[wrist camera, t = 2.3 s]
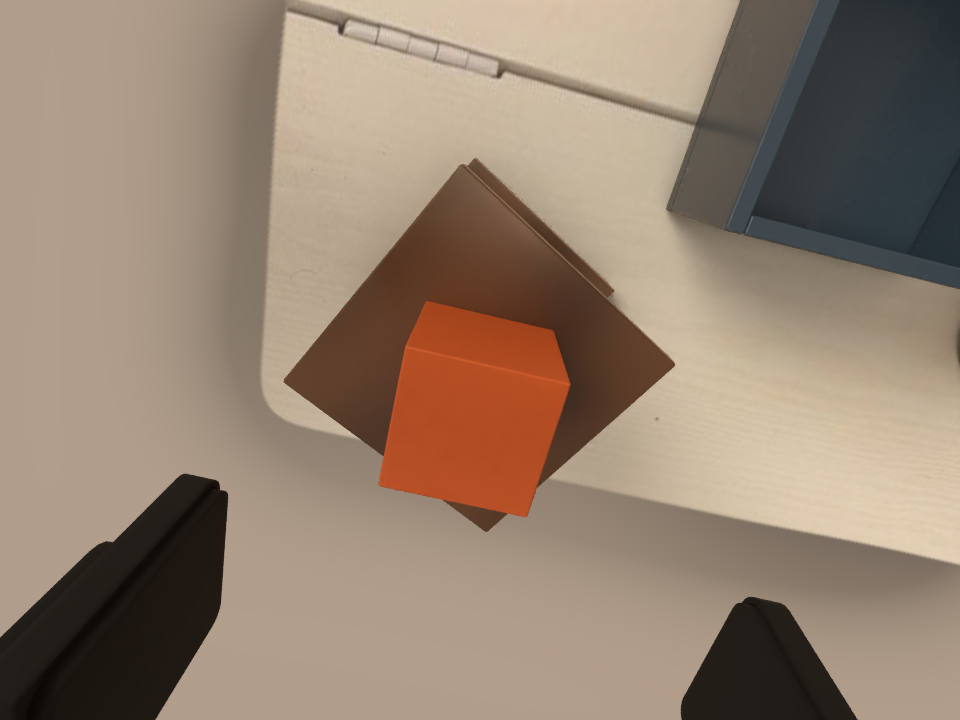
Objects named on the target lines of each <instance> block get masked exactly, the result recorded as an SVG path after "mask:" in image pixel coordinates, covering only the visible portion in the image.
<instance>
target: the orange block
mask: <svg viewBox="0 0 960 720" xmlns="http://www.w3.org/2000/svg"><path fill="white" fill-rule="evenodd" d="M570 386H571V384H570V381H569V378H568V374H567V371H566V368H565V365H564V362H563V359H562V355H561V352H560V349H559V346H558V343H557V340H556V337H555V333H554V331H553V330H549V329H545V328H541V327H536V326H532V325H528V324H524V323H519V322H515V321H511V320H507V319H502V318H498V317H494V316H490V315H485V314H481V313H477V312H473V311H468V310H464V309H460V308H456V307H451V306H447V305H443V304H438V303H434V302H430V301H426V303H425V305H424V307H423V309H422V311H421V314H420V316H419V318H418V320H417V322H416V324H415V327H414V329H413V331H412V333H411V335H410V338H409V340H408V342H407V344H406V346H405V350H404V355H403V360H402V365H401V370H400V375H399V380H398V386H397V391H396V396H395V401H394V406H393V411H392V416H391V422H390V427H389V432H388V437H387V442H386V447H385V452H384V458H383V463H382V468H381V473H380V478H379V483H378V484H379V486H381V487H386V488H391V489H395V490H400V491H404V492H409V493H414V494H418V495H423V496H428V497H433V498H437V499H442V500H447V501H451V502H456V503H461V504H465V505H470V506H475V507H480V508H484V509H489V510H494V511H498V512H503V513H508V514H513V515H517V516H522V517H527V515H528V513H529V510H530V507H531V503H532V501H533V498H534V495H535V491H536V488H537V486H538V482H539V479H540V476H541V473H542V470H543V467H544V464H545V461H546V458H547V455H548V452H549V449H550V446H551V443H552V440H553V437H554V434H555V431H556V428H557V425H558V422H559V419H560V416H561V413H562V410H563V407H564V404H565V401H566V398H567V395H568V392H569V389H570Z"/></svg>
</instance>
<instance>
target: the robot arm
mask: <svg viewBox="0 0 960 720" xmlns="http://www.w3.org/2000/svg"><path fill="white" fill-rule="evenodd" d="M227 506H228V493H227V492H226V491H222V490H220V485H219V482H218V481H216V480H213V479H208V478H204V477H199V476H194V475H190V474H182V475H181V476H179V477H178V478H177V479H176V480H175V481H174V482H173V483H172V484H171V485H170V486H169V487H168V488H167V489H166V490H165V491H164V492H163V493H162V494H161V495H160V496H159V497H158V498H157V499H156V500H155V501H154V502H153V503H152V504H151V505H150V506H149V507H148V508H147V509H146V510H145V511H144V512H143V513H142V514H141V515H140V516H139V517H138V518H137V519H136V520H135V521H134V522H133V523H132V524H131V525H130V526H129V527H128V528H127V529H126V530H125V531H124V532H123V533H122V534H121V535H120V536H119V537H118V538H117V539H116V540H115V541H114V542H107V541H106V542H103V543H101V544H98V545H97V546H96V547H94V548H93V549H92V550H91V551H89V553H87V554H86V555H85V556H84V557H83V558H82V559H81V560H80V561H79V562H78V563H77V564H76V565H75V566H74V567H73V568H72V569H71V570H70V571H69V572H68V573H67V574H66V575H64V576H63V578H61V580H59V581H58V582H57V583H56V584H55V585H54V586H53V587H52V588H51V589H50V590H49V591H48V592H47V593H46V594H45V595H44V596H43V597H42V598H41V599H40V600H39V601H38V602H36V603H35V604H34V605H33V606H32V607H31V608H30V609H29V610H28V611H27V612H26V613H25V614H24V615H23V616H22V617H21V618H20V619H19V620H18V621H17V622H16V623H15V624H14V625H13V626H12V627H11V628H10V629H9V630H7V631H6V632H5V633H4V634H3V636H1V637H0V720H155V719H156V718H157V716H158V714H159V713H160V711H161V710H162V708H163V706H164V705H165V703H166V701H167V700H168V698H169V696H170V695H171V693H172V691H173V690H174V688H175V686H176V685H177V683H178V682H179V680H180V678H181V677H182V675H183V674H184V672H185V670H186V669H187V667H188V665H189V664H190V662H191V661H192V659H193V657H194V655H195V654H196V652H197V651H198V649H199V647H200V646H201V644H202V642H203V641H204V639H205V638H206V636H207V634H208V633H209V631H210V629H211V628H212V626H213V624H214V622H215V620H216V618H217V615H218V612H219V609H220V605H221V594H222V593H221V592H222V579H223V565H224V563H223V562H224V550H225V535H226V521H227ZM681 718H682V720H857V718H856V716H855V715H854V713H853V712H852V710H851V708H850V707H849V705H848V704H847V702H846V700H845V699H844V697H843V696H842V694H841V693H840V691H839V689H838V688H837V686H836V685H835V683H834V682H833V680H832V678H831V677H830V675H829V673H828V672H827V670H826V669H825V667H824V665H823V664H822V662H821V661H820V659H819V658H818V656H817V654H816V653H815V651H814V649H813V648H812V646H811V645H810V643H809V641H808V640H807V638H806V637H805V635H804V634H803V632H802V630H801V629H800V627H799V625H798V624H797V622H796V621H795V619H794V617H793V616H792V614H791V613H790V611H789V610H788V609H787V607H786V606H785V605H783V604H781V603H777V602H773V601H768V600H763V599H759V598H755V597H748V598H746V599H745V600H744V601H743V602H742V603H737V604H736V605H735V606H734V607H733V609H732V611H731V613H730V614H729V616H728V618H727V620H726V621H725V624H724V625H723V627H722V629H721V630H720V632H719V634H718V636H717V638H716V640H715V641H714V643H713V645H712V647H711V649H710V651H709V652H708V654H707V656H706V658H705V659H704V661H703V663H702V665H701V667H700V669H699V670H698V672H697V674H696V676H695V677H694V679H693V681H692V683H691V685H690V687H689V688H688V690H687V692H686V694H685V696H684V697H683V700H682V704H681Z"/></svg>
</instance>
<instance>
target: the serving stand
mask: <svg viewBox="0 0 960 720" xmlns="http://www.w3.org/2000/svg"><path fill="white" fill-rule="evenodd" d="M613 291H614V290H613V289H612V287H611V286H610V285H609V284H608V283H607V282H606V281H605V280H604V279H603V278H602V277H601V276H600V275H599V274H598V273H597V272H596V271H595V270H594V269H593V268H591V267H590V266H589V265H588V264H587V263H586V262H585V261H584V260H583V259H582V258H581V257H580V256H579V255H578V254H577V253H576V252H575V251H574V250H573V249H571V248H570V247H569V246H568V245H567V244H566V243H565V242H564V241H563V240H562V239H561V238H560V237H559V236H558V235H557V234H556V233H555V232H554V231H553V230H552V229H550V228H549V227H548V226H547V225H546V224H545V223H544V222H543V221H542V220H541V219H540V218H539V217H538V216H537V215H536V214H535V213H534V212H533V211H532V210H530V209H529V208H528V207H527V206H526V205H525V204H524V203H523V202H522V201H521V200H520V199H519V198H518V197H517V196H516V195H515V194H514V193H513V192H512V191H511V190H509V189H508V188H507V187H506V186H505V185H504V184H503V183H502V182H501V181H500V180H499V179H498V178H497V177H496V176H495V175H494V174H493V173H492V172H491V171H489V170H488V169H487V168H486V167H485V166H484V165H483V164H482V163H481V162H480V161H479V160H478V159H477V158H475V159H473V160H472V162H471V163H470V164H469V165H468V167H467V166H466V165H465V164H462V165H460V166H459V167H458V168H457V170H456V171H455V172H454V173H453V174H452V176H451V177H450V178H449V179H448V181H447V182H446V183H445V184H444V185H443V187H442V188H441V189H440V190H439V192H438V193H437V194H436V195H435V196H434V198H433V199H432V200H431V201H430V202H429V204H428V205H427V206H426V207H425V209H424V210H423V211H422V212H421V213H420V215H419V216H418V217H417V218H416V220H415V221H414V222H413V223H412V224H411V226H410V227H409V228H408V229H407V230H406V232H405V233H404V234H403V235H402V237H401V238H400V239H399V240H398V241H397V243H396V244H395V245H394V246H393V248H392V249H391V250H390V251H389V252H388V254H387V255H386V256H385V257H384V258H383V260H382V261H381V262H380V263H379V265H378V266H377V267H376V268H375V269H374V271H373V272H372V273H371V274H370V276H369V277H368V278H367V279H366V280H365V282H364V283H363V284H362V285H361V286H360V288H359V289H358V290H357V291H356V293H355V294H354V295H353V296H352V297H351V299H350V300H349V301H348V302H347V304H346V305H345V306H344V307H343V308H342V310H341V311H340V312H339V313H338V314H337V316H336V317H335V318H334V319H333V321H332V322H331V323H330V324H329V325H328V327H327V328H326V329H325V330H324V332H323V333H322V334H321V335H320V336H319V338H318V339H317V340H316V341H315V342H314V344H313V345H312V346H311V347H310V349H309V350H308V351H307V352H306V353H305V355H304V356H303V357H302V358H301V360H300V361H299V362H298V363H297V364H296V366H295V367H294V368H293V369H292V370H291V372H290V373H289V374H288V375H287V377H286V378H285V379H284V383H285V384H287V385H288V386H289V387H291V388H292V389H293V390H295V391H296V392H297V393H299V394H300V395H301V396H303V397H304V398H306V399H307V400H308V401H310V402H311V403H312V404H314V405H315V406H316V407H318V408H319V409H320V410H322V411H323V412H324V413H326V414H327V415H328V416H330V417H331V418H333V419H334V420H335V421H337V422H338V423H339V424H341V425H342V426H343V427H345V428H346V429H347V430H349V431H350V432H351V433H353V434H354V435H355V436H357V437H358V438H360V439H361V440H362V441H364V442H365V443H366V444H368V445H369V446H370V447H372V448H373V449H374V450H376V451H377V452H378V453H380V454H381V455H383V456H384V452H385V447H386V442H387V437H388V432H389V427H390V422H391V416H392V411H393V406H394V401H395V396H396V391H397V386H398V380H399V375H400V370H401V365H402V360H403V355H404V350H405V346H406V344H407V342H408V340H409V338H410V335H411V333H412V331H413V329H414V327H415V324H416V322H417V320H418V318H419V316H420V314H421V311H422V309H423V307H424V305H425V303H426V301H430V302H434V303H438V304H443V305H447V306H451V307H456V308H460V309H464V310H468V311H473V312H477V313H481V314H485V315H490V316H494V317H498V318H502V319H507V320H511V321H515V322H519V323H524V324H528V325H532V326H536V327H541V328H545V329H549V330H553V331H554V333H555V337H556V340H557V343H558V346H559V349H560V352H561V355H562V359H563V362H564V365H565V368H566V371H567V374H568V378H569V381H570V384H571V386H570V389H569V392H568V395H567V398H566V401H565V404H564V407H563V410H562V413H561V416H560V419H559V422H558V425H557V428H556V431H555V434H554V437H553V440H552V443H551V446H550V449H549V452H548V455H547V458H546V461H545V464H544V467H543V470H542V473H541V476H540V479H539V482H538V486H540V485H541V484H542V483H543V482H544V481H545V480H546V479H548V478H549V477H550V476H551V475H552V474H553V473H554V472H555V471H557V470H558V469H559V468H560V467H561V466H562V465H563V464H564V463H566V462H567V461H568V460H569V459H570V458H571V457H572V456H574V455H575V454H576V453H577V452H578V451H579V450H580V449H581V448H583V447H584V446H585V445H586V444H587V443H588V442H589V441H590V440H592V439H593V438H594V437H595V436H596V435H597V434H598V433H600V432H601V431H602V430H603V429H604V428H605V427H606V426H607V425H609V424H610V423H611V422H612V421H613V420H614V419H615V418H616V417H618V416H619V415H620V414H621V413H622V412H623V411H624V410H626V409H627V408H628V407H629V406H630V405H631V404H632V403H633V402H635V401H636V400H637V399H638V398H639V397H640V396H641V395H643V394H644V393H645V392H646V391H647V390H648V389H649V388H650V387H652V386H653V385H654V384H655V383H656V382H657V381H658V380H659V379H661V378H662V377H663V376H664V375H665V374H666V373H667V372H669V371H670V370H671V369H672V368H673V367H674V366H675V363H674V362H673V360H672V359H671V358H670V357H669V356H668V355H667V354H666V353H665V352H664V351H663V350H662V349H661V348H660V347H659V346H658V345H656V344H655V343H654V342H653V341H652V340H651V339H650V338H649V337H648V336H647V335H646V334H645V333H644V332H643V331H642V330H641V329H639V328H638V327H637V326H636V325H635V324H634V323H633V322H632V321H631V320H630V319H629V318H628V317H627V316H626V315H625V314H624V313H622V312H621V311H620V310H619V309H618V308H617V307H616V306H615V305H614V304H613V303H612V302H611V301H610V300H609V299H608V298H607V297H608V296H609V295H610V294H611V293H612V292H613ZM538 486H537V487H538ZM443 501H445V502H446V503H447V504H449V505H450V506H451V507H453V508H454V509H455V510H457V511H458V512H460V513H461V514H462V515H463V516H465V517H466V518H468V519H469V520H470V521H472V522H473V523H474V524H476V525H477V526H478V527H480V528H481V529H482V530H484V531H485V532H487V531H489V530H490V529H491V528H492V527H493V526H494V525H495V524H497V523H498V522H499V521H500V520H501V519H502V518H503V517H504V516H506V515H507V514H508V513H503V512H498V511H494V510H489V509H484V508H480V507H475V506H470V505H465V504H461V503H456V502H451V501H447V500H443Z"/></svg>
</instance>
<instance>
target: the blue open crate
mask: <svg viewBox="0 0 960 720" xmlns="http://www.w3.org/2000/svg"><path fill="white" fill-rule="evenodd" d="M666 209H667V210H669V211H672V212H675V213H678V214H681V215H683V216H686V217H689V218H692V219H695V220H698V221H700V222H703V223H706V224H709V225H712V226H714V227H717V228H720V229H723V230H726V231H730V232H734V233H738V234H743V235H746V236H750V237H754V238H758V239H762V240H766V241H770V242H774V243H778V244H782V245H785V246H789V247H793V248H797V249H801V250H805V251H809V252H813V253H817V254H821V255H825V256H829V257H833V258H837V259H841V260H845V261H849V262H853V263H857V264H861V265H865V266H869V267H873V268H877V269H881V270H885V271H889V272H893V273H897V274H901V275H905V276H909V277H913V278H917V279H921V280H925V281H929V282H933V283H937V284H940V285H944V286H948V287H952V288H956V289H960V0H740V3H739V6H738V9H737V12H736V14H735V17H734V20H733V23H732V26H731V28H730V31H729V34H728V37H727V40H726V42H725V45H724V48H723V51H722V54H721V57H720V59H719V62H718V65H717V68H716V71H715V73H714V76H713V79H712V82H711V85H710V87H709V90H708V93H707V96H706V99H705V101H704V104H703V107H702V110H701V113H700V115H699V118H698V121H697V124H696V127H695V129H694V132H693V135H692V138H691V141H690V144H689V146H688V149H687V152H686V155H685V158H684V160H683V163H682V166H681V169H680V172H679V174H678V177H677V180H676V183H675V186H674V188H673V191H672V194H671V197H670V200H669V202H668V205H667V208H666Z"/></svg>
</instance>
